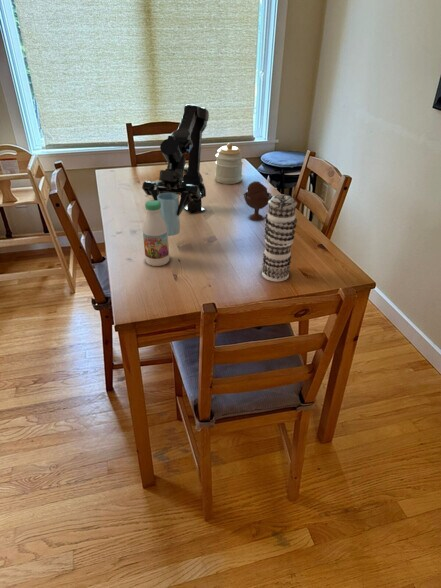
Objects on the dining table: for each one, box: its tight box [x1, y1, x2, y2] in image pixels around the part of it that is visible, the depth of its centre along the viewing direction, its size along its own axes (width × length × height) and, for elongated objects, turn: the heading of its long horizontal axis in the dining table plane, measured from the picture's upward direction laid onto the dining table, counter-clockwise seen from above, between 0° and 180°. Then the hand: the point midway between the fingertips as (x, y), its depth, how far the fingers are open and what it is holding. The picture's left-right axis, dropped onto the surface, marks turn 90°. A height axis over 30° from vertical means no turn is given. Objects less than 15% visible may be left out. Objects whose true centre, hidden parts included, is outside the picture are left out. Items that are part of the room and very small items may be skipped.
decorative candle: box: [261, 193, 298, 283], centre depth 120 cm, size 9×9×25 cm
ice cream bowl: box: [243, 180, 273, 222], centre depth 158 cm, size 11×11×15 cm
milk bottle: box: [142, 199, 170, 267], centre depth 127 cm, size 8×8×20 cm
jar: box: [215, 142, 244, 185], centre depth 195 cm, size 13×13×18 cm
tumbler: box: [157, 193, 181, 237], centre depth 135 cm, size 7×7×12 cm
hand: (167, 214), depth 133 cm, fingers closed on tumbler, 7 cm apart
